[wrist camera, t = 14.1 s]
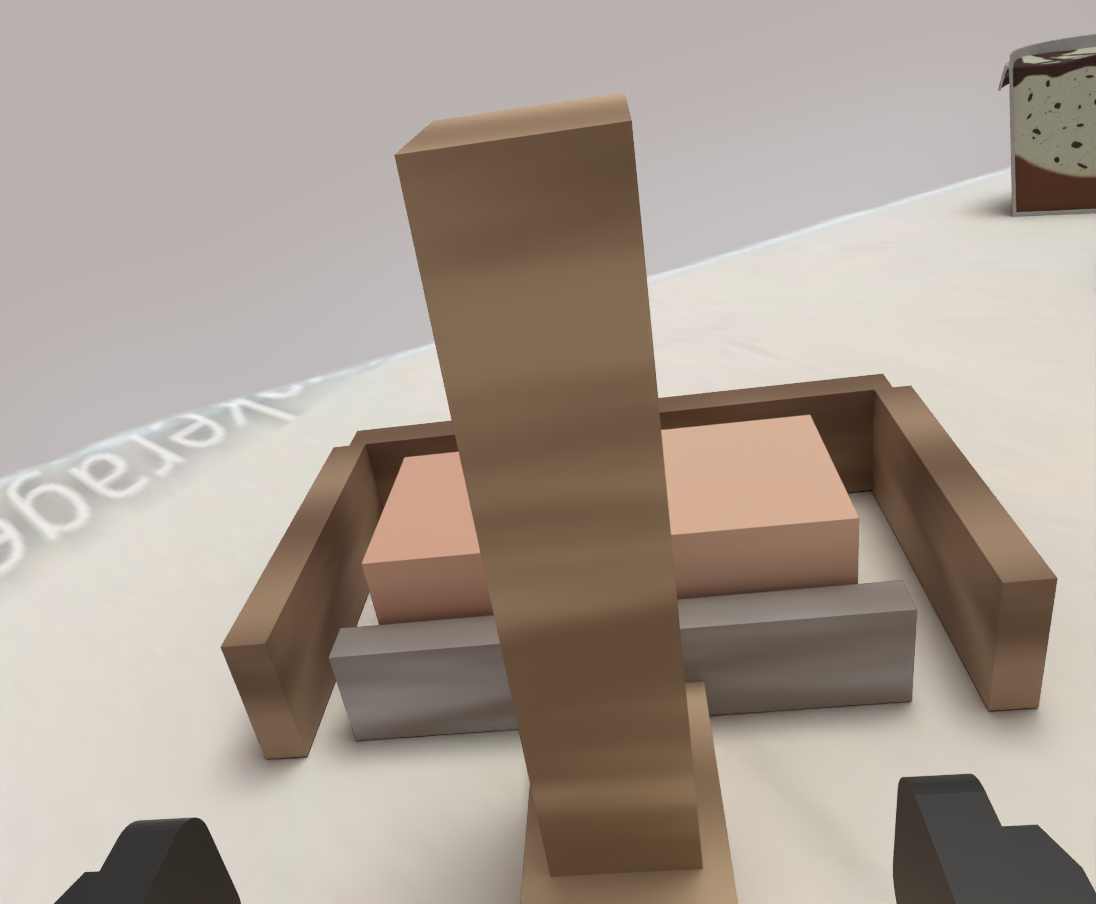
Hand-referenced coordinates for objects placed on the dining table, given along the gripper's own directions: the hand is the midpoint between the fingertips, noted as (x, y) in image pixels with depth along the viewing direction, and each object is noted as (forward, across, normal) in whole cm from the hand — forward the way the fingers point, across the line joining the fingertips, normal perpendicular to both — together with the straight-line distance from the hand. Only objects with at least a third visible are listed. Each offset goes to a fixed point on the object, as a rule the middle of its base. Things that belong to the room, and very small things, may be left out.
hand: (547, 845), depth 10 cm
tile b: (+15, +4, -9) cm, 18 cm away
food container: (+55, +32, -9) cm, 64 cm away
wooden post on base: (+7, 0, -9) cm, 11 cm away
